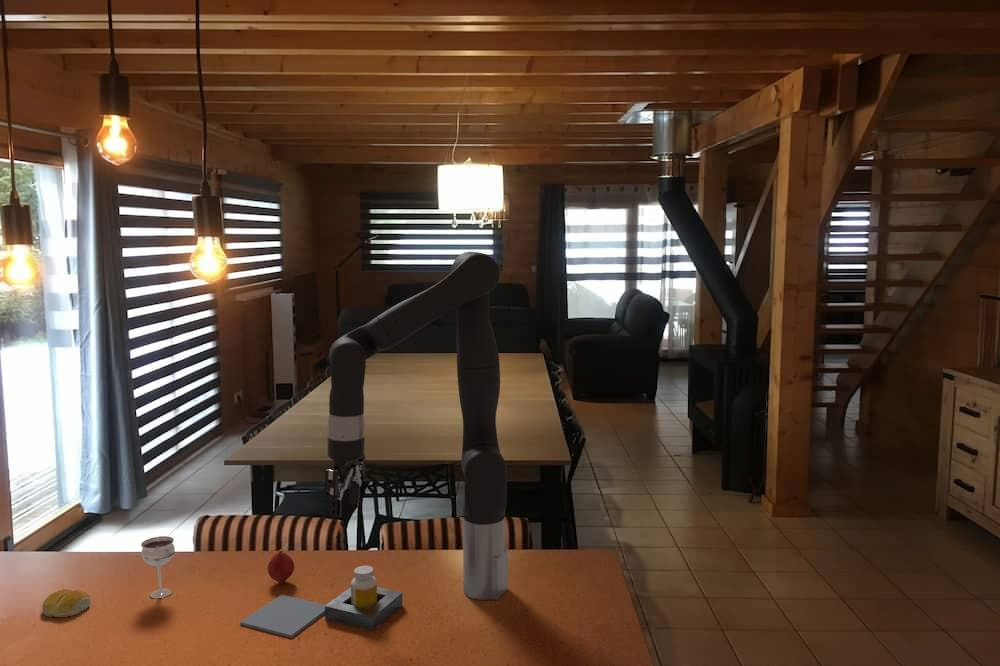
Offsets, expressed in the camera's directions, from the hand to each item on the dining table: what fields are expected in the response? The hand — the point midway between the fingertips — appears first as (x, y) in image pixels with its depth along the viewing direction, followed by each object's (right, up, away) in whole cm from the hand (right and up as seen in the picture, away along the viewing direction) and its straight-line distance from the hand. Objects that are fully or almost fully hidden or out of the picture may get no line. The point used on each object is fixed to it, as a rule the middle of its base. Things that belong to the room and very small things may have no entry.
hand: (345, 509), depth 164 cm
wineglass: (-43, -21, +9) cm, 48 cm away
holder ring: (+4, -22, +1) cm, 22 cm away
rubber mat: (-12, -22, -1) cm, 25 cm away
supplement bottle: (+4, -22, +1) cm, 22 cm away
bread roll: (-60, -22, +3) cm, 64 cm away
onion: (-17, -20, +15) cm, 30 cm away
